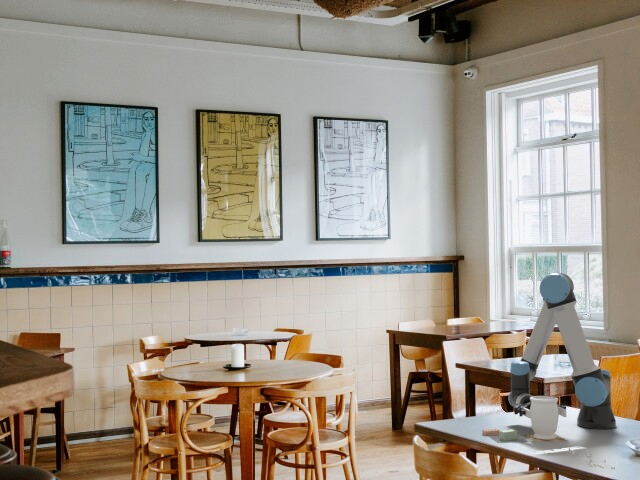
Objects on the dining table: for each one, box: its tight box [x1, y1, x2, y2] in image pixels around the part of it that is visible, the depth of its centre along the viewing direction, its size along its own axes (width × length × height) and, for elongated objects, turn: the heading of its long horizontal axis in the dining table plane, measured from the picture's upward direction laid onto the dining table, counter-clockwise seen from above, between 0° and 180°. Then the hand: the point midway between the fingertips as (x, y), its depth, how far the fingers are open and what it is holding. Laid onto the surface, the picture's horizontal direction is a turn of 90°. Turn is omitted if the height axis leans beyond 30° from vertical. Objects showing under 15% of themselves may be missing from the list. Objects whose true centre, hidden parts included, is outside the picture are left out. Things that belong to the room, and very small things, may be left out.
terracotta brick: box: [481, 428, 501, 437], centre depth 314 cm, size 6×3×3 cm, turn 107°
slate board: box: [488, 434, 530, 444], centre depth 306 cm, size 12×12×1 cm
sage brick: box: [498, 429, 518, 440], centre depth 306 cm, size 6×3×3 cm, turn 114°
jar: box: [530, 395, 560, 440], centre depth 307 cm, size 11×10×15 cm
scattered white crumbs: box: [568, 447, 616, 469], centre depth 278 cm, size 7×25×2 cm, turn 1°
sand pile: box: [522, 433, 568, 443], centre depth 307 cm, size 13×12×1 cm
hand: (547, 413), depth 304 cm, fingers open, 13 cm apart
